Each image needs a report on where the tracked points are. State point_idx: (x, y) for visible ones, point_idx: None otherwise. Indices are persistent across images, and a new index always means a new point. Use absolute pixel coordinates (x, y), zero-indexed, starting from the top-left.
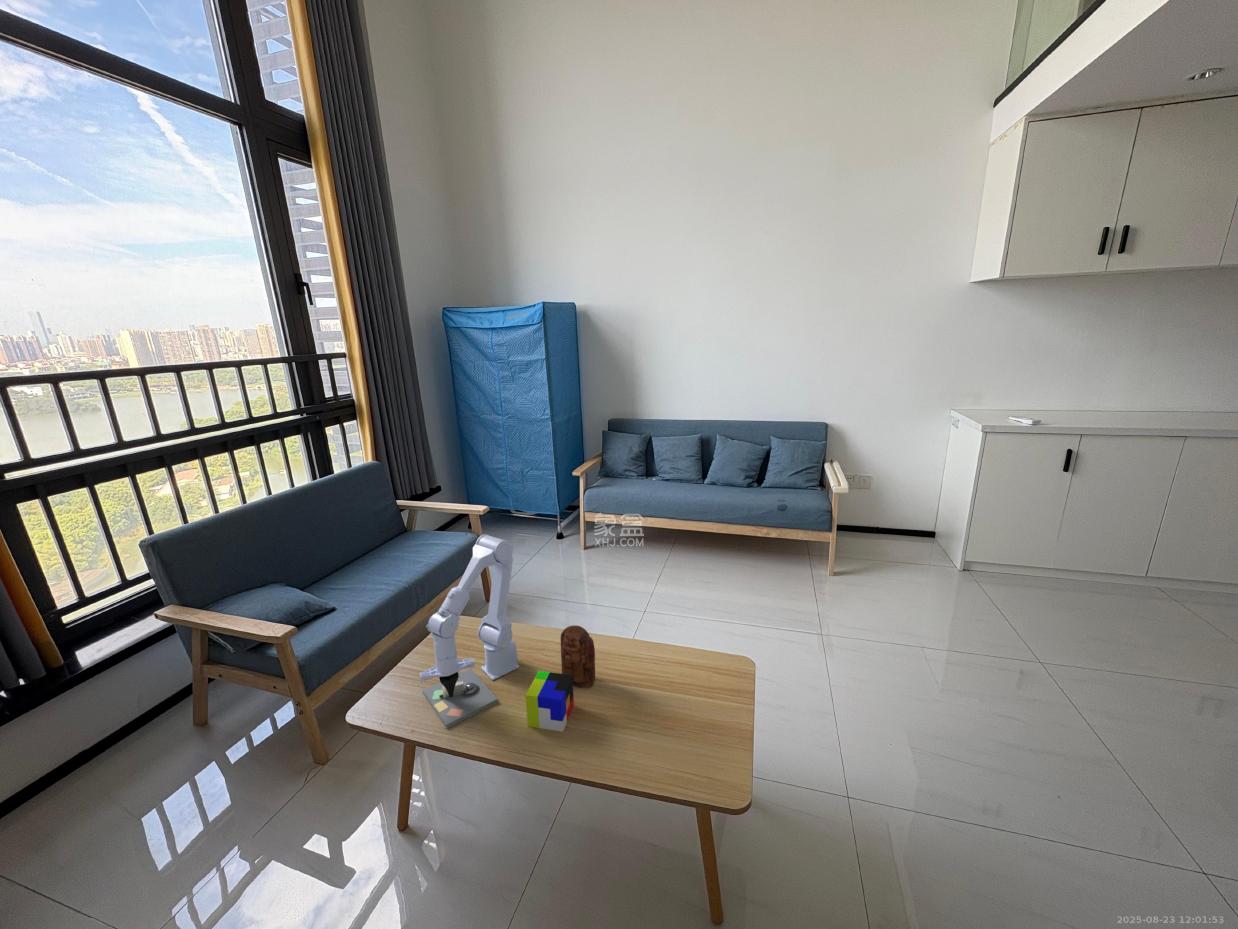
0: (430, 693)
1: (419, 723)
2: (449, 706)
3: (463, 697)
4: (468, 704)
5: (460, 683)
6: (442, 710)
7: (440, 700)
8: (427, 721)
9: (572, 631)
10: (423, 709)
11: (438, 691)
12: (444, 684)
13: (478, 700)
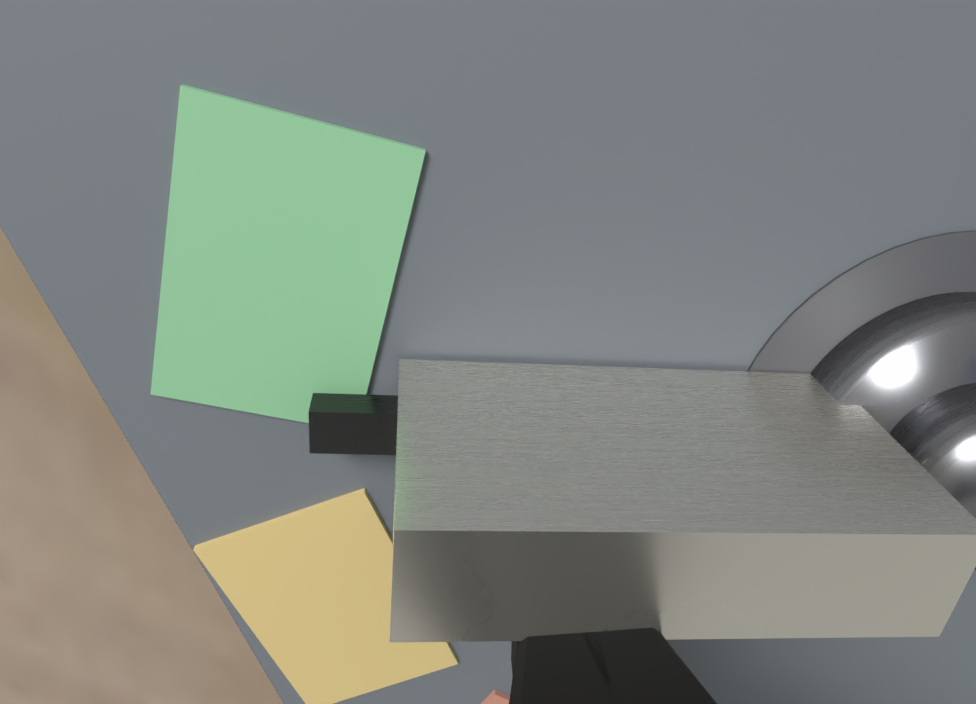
0: (76, 148)
1: (12, 675)
2: (477, 647)
3: None
4: (754, 689)
5: (886, 602)
6: (358, 696)
7: (331, 466)
8: (134, 675)
9: None
10: (13, 428)
11: (288, 169)
12: None
13: (911, 664)
